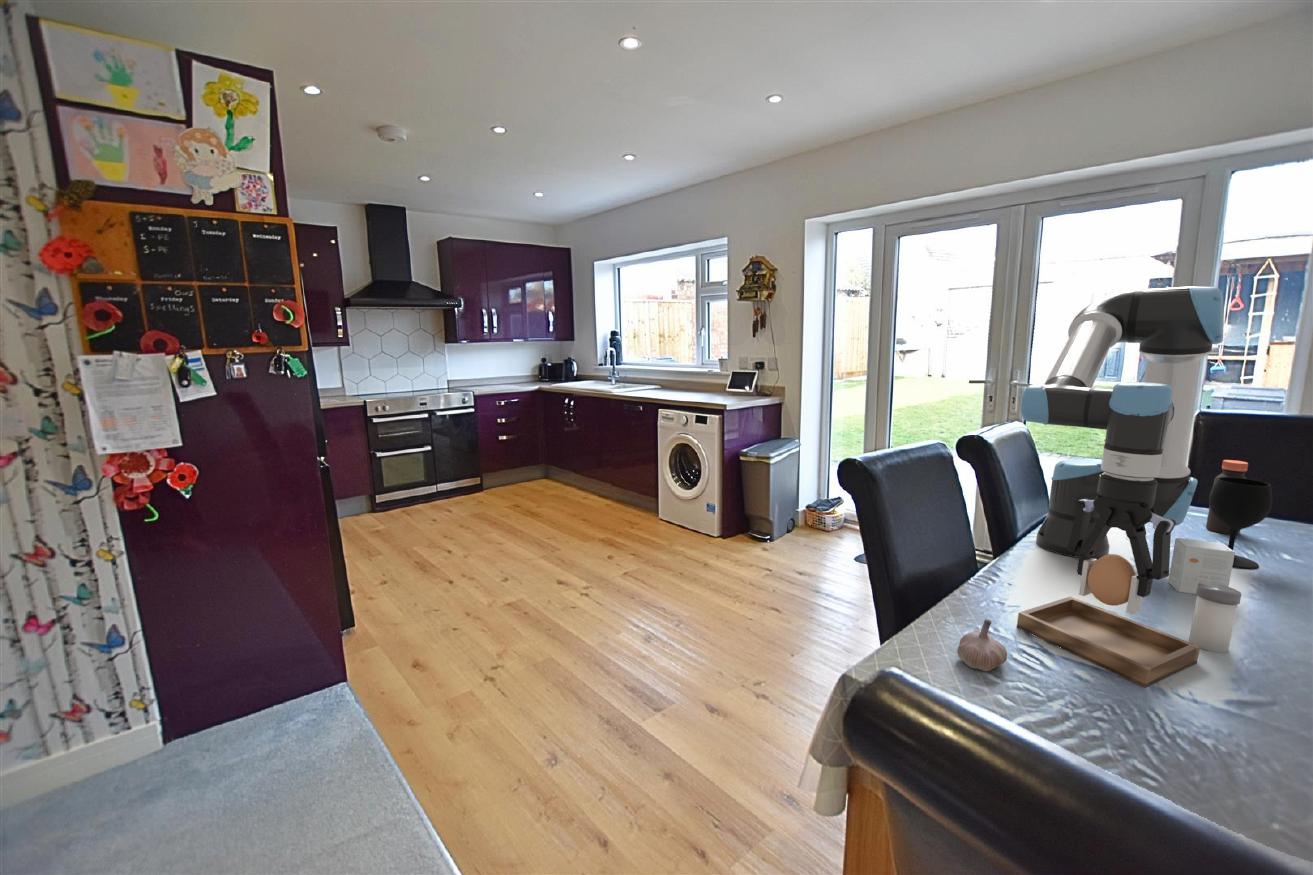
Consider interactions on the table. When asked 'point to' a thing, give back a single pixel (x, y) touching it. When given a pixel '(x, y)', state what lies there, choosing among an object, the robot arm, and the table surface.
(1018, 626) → the tray
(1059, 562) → the table surface
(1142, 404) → the robot arm
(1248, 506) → the wine glass
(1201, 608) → the shaker
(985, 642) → the garlic bulb
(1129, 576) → the egg
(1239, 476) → the bottle
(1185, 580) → the small box
